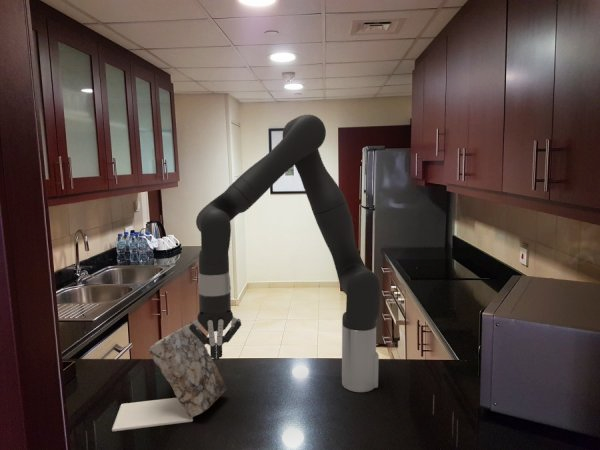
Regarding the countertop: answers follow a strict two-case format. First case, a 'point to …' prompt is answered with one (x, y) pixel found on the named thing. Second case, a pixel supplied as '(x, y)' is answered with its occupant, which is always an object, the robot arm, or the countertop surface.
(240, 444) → the countertop surface
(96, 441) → the countertop surface
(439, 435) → the countertop surface
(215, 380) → the stone block
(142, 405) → the mat
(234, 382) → the countertop surface
